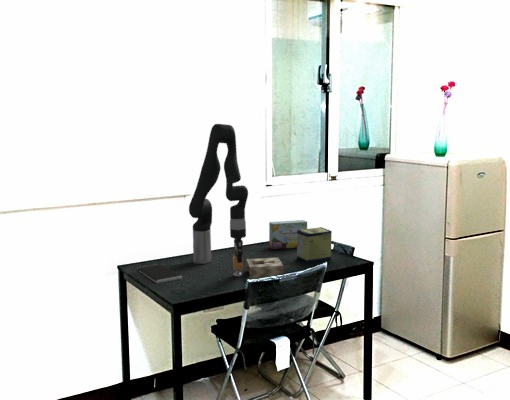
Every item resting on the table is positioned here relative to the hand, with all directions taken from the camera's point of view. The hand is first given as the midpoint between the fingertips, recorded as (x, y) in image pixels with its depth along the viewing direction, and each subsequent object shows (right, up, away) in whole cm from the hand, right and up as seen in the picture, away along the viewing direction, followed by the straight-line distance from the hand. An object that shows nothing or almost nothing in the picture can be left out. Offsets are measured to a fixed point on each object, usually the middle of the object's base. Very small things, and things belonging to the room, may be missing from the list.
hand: (238, 260), depth 282 cm
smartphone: (-39, -8, +6) cm, 41 cm away
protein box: (+39, -3, +29) cm, 49 cm away
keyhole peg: (0, -8, +1) cm, 8 cm away
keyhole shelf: (+12, -7, +3) cm, 15 cm away
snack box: (+27, +2, +54) cm, 60 cm away
